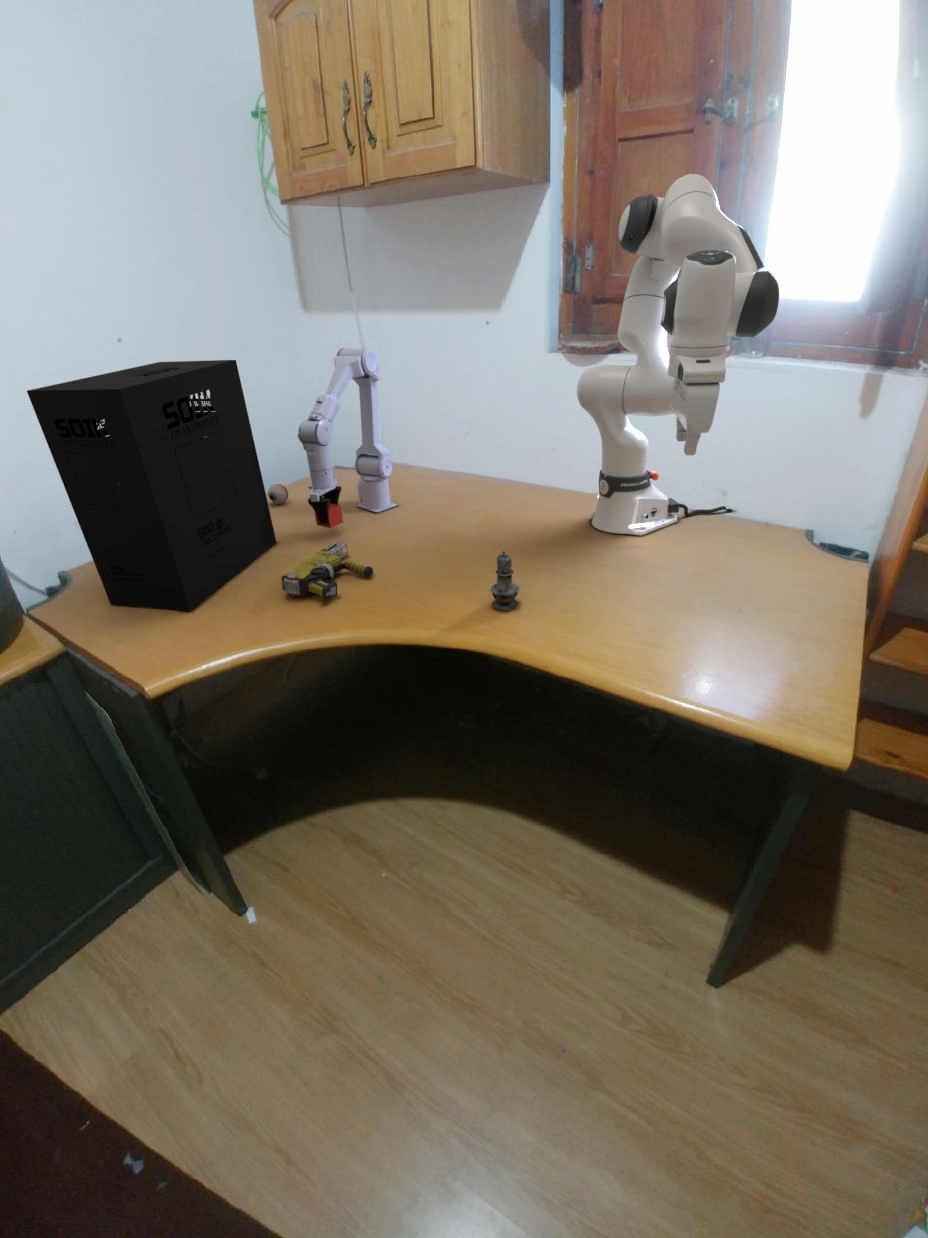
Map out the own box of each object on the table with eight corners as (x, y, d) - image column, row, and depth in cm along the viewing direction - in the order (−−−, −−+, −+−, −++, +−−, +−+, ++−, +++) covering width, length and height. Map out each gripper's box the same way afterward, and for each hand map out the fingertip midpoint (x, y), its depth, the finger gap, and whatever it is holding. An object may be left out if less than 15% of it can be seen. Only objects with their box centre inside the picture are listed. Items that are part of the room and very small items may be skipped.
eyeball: (265, 505, 187) (261, 487, 184) (278, 499, 192) (274, 480, 189) (281, 507, 185) (277, 488, 182) (293, 500, 190) (290, 482, 187)
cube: (329, 519, 165) (326, 502, 163) (343, 522, 163) (340, 505, 160) (316, 525, 162) (313, 508, 159) (330, 528, 159) (327, 511, 157)
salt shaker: (517, 611, 121) (517, 557, 115) (488, 610, 122) (486, 556, 116) (521, 598, 126) (520, 545, 120) (493, 596, 127) (491, 544, 121)
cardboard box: (190, 611, 129) (119, 389, 106) (110, 604, 133) (26, 390, 111) (276, 542, 160) (235, 359, 138) (209, 539, 165) (159, 361, 142)
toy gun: (389, 548, 145) (334, 537, 149) (339, 588, 125) (277, 575, 129) (389, 566, 147) (335, 555, 151) (340, 608, 127) (279, 595, 131)
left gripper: (316, 460, 162) (324, 509, 169) (294, 477, 149) (304, 528, 156) (341, 460, 161) (348, 509, 167) (321, 477, 148) (330, 528, 155)
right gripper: (668, 356, 110) (659, 433, 117) (685, 373, 93) (674, 463, 100) (704, 355, 109) (693, 433, 116) (729, 372, 92) (714, 462, 99)
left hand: (329, 518), depth 162 cm, fingers closed on cube, 6 cm apart
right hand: (685, 447), depth 108 cm, fingers open, 8 cm apart
